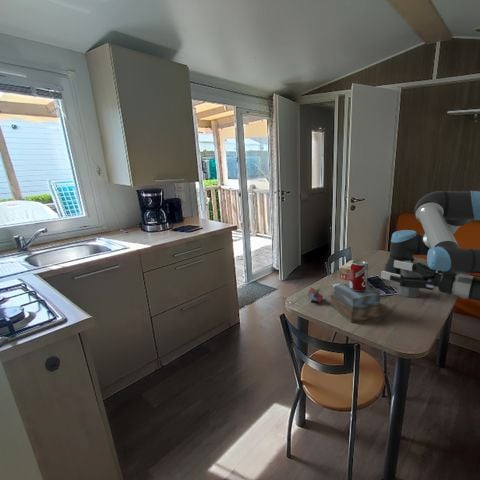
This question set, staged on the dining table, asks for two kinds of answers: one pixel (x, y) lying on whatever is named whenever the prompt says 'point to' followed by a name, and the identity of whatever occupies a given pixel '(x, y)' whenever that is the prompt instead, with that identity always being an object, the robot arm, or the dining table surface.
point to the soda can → (358, 275)
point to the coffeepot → (407, 290)
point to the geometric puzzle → (315, 295)
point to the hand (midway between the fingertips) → (387, 268)
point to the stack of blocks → (346, 272)
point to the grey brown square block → (356, 303)
